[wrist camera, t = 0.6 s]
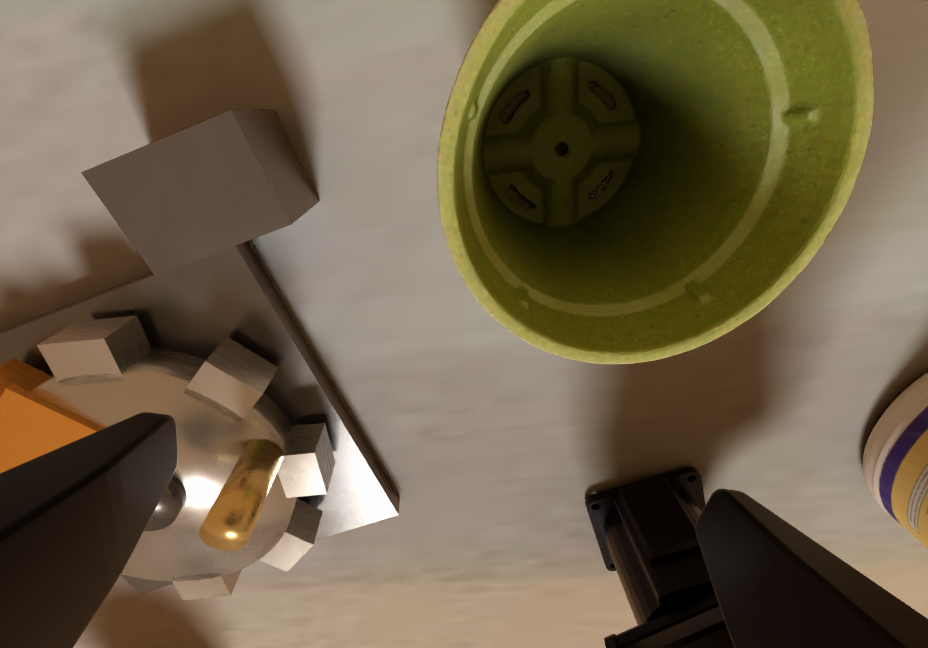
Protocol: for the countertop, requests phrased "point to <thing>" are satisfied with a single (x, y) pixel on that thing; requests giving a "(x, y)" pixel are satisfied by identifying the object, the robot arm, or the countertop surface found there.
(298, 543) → the grey cog wheel
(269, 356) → the base plate
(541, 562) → the countertop surface
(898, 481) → the supplement tub
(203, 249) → the taupe rectangular block
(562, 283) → the plant pot
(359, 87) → the countertop surface
